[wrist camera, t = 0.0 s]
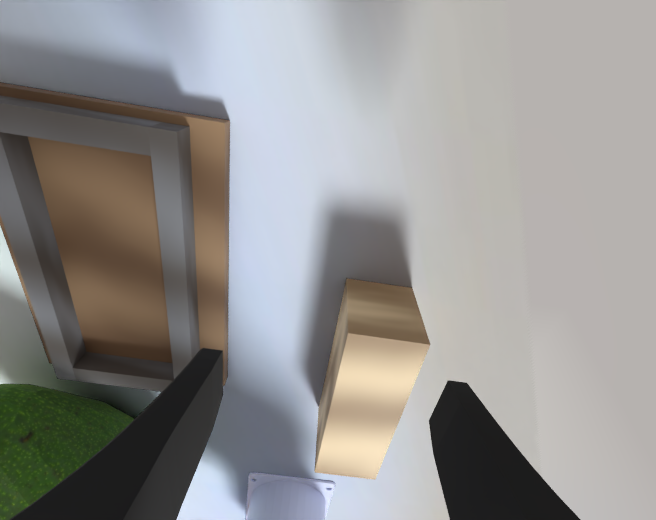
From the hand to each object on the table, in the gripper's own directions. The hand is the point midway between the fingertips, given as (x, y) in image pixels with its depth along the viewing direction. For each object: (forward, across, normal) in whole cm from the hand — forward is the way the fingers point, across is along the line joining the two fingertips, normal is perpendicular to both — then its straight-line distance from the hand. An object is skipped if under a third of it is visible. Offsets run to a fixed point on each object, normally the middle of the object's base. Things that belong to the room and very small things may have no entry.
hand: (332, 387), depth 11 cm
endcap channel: (+10, +12, +3) cm, 16 cm away
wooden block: (+10, -3, +8) cm, 13 cm away
